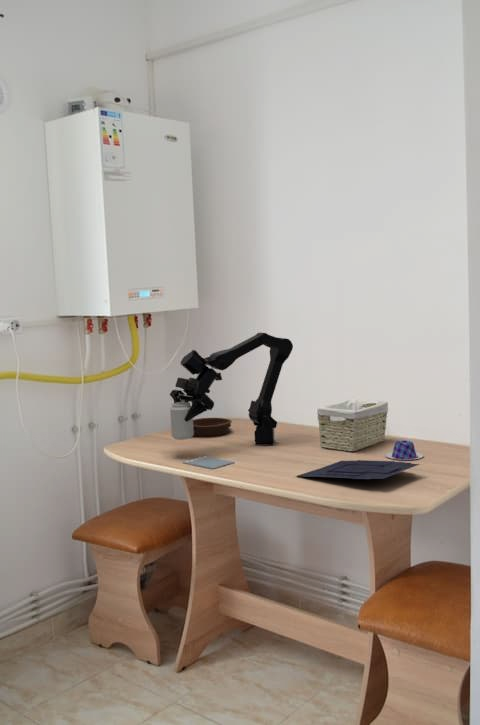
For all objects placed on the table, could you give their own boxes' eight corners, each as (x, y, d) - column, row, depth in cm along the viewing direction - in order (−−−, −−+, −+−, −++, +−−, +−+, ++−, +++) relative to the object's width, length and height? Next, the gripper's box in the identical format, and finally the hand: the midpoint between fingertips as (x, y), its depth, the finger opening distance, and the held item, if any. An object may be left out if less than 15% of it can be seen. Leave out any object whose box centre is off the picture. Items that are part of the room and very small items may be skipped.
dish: (245, 432, 300) (244, 419, 299) (203, 441, 285) (202, 428, 284) (215, 426, 313) (214, 414, 312) (173, 435, 297) (172, 423, 297)
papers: (380, 490, 210) (378, 477, 210) (295, 485, 230) (294, 473, 230) (425, 471, 227) (423, 459, 227) (343, 468, 248) (341, 457, 248)
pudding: (429, 460, 246) (429, 444, 246) (394, 463, 244) (394, 447, 243) (413, 452, 258) (413, 437, 257) (380, 454, 256) (380, 439, 255)
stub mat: (234, 463, 250) (234, 461, 250) (213, 469, 242) (213, 467, 242) (204, 457, 259) (204, 455, 259) (182, 463, 252) (182, 461, 252)
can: (190, 440, 255) (188, 404, 254) (169, 440, 257) (167, 405, 256) (196, 435, 263) (194, 401, 261) (175, 435, 264) (173, 401, 263)
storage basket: (352, 436, 285) (351, 397, 284) (390, 441, 275) (390, 400, 273) (315, 448, 267) (314, 407, 266) (355, 454, 257) (355, 411, 255)
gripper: (172, 366, 267) (148, 402, 261) (205, 370, 253) (180, 408, 247) (191, 386, 273) (168, 421, 267) (225, 390, 259) (200, 428, 253)
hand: (178, 419), depth 258 cm, fingers closed on can, 7 cm apart
